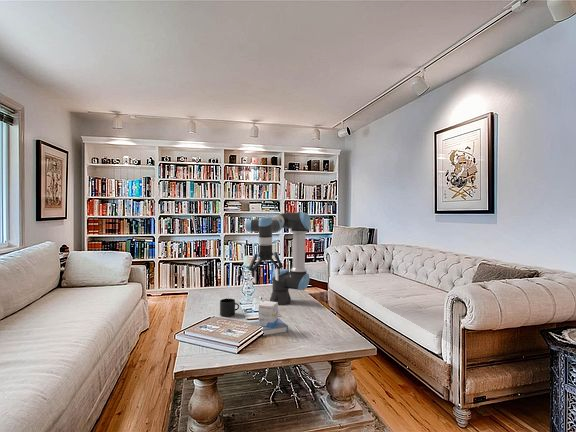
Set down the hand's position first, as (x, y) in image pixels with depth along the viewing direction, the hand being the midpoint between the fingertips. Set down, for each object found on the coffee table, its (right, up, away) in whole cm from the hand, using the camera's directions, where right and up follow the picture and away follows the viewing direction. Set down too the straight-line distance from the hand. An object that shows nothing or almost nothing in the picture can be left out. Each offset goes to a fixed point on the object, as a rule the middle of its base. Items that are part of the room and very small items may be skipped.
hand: (265, 281), depth 183 cm
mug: (-25, -25, +20) cm, 41 cm away
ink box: (+2, -23, -6) cm, 24 cm away
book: (+2, -26, -6) cm, 27 cm away
